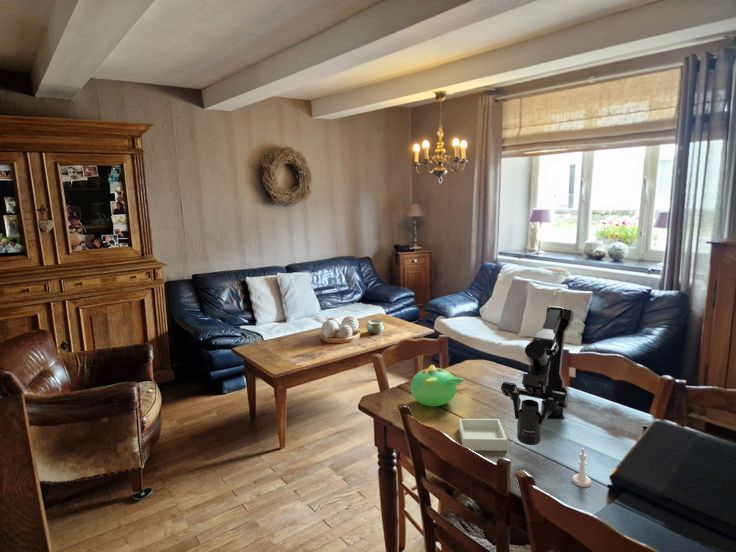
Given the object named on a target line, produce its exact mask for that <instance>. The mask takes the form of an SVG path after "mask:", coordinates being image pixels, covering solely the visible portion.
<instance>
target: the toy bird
mask: <svg viewBox="0 0 736 552" xmlns="http://www.w3.org/2000/svg"><path fill="white" fill-rule="evenodd" d="M463 382H465V379H464V378H461V377H455V376H454V375H453V374H452V373H451V372H450V371H448V370H446V369H444V368H440V367H436V366H435V365H434V364H431V365H429V366H428V367H427V368H424V369H422V370H420V371H418V372H417V373H416V374H415V375H414V376H413V377H412V380H411V381H410V391H411V394H412V397H413V398H414V399H415V400H416V401H417V402H418V403H420V404H421V405H424V406H427V407H441V406H444V405H446V404H448V403H450V402H451V401H452V400H453V398H455V395H456V394H457V390H458V385H460V384H462V383H463Z"/></svg>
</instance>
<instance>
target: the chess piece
mask: <svg viewBox="0 0 736 552" xmlns="http://www.w3.org/2000/svg"><path fill="white" fill-rule="evenodd" d="M580 451H581V452H580V453H579V454H578V456H579V460H578V464H579V465H580V466H579V470H578V473H576V474H573V475H572V477H571V481H572V482H573V483H574V484H575V485H577V486H578V487H579V486H580V487H583V488H585V487H586V488H587V487H590V486H591V485H592V479H591V478H590V477H589V476H587V475H586V471H585V466H587V462H586V459H587V457H588V455H587V454H586V450H585V448H584V447H581V448H580Z"/></svg>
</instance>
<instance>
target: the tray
mask: <svg viewBox="0 0 736 552" xmlns="http://www.w3.org/2000/svg"><path fill="white" fill-rule="evenodd" d="M502 425H503V424H502V423H501V421H500V418H458V431H459V436H460V440H461V441H460V442H461V445H463V446H466V447H468V448H470V449H472V450H471V451H491V452H492V451H493V452H494V451H499V452H501V451H503V452H504V451H505V452H506V451H508V438H507V434H506V432H505V430H504V428H503V426H502ZM463 446H462V447H463Z"/></svg>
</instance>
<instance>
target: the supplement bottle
mask: <svg viewBox="0 0 736 552" xmlns="http://www.w3.org/2000/svg"><path fill="white" fill-rule="evenodd" d="M539 405H540V403H539V402H538V401H536V400H534V399H524V400H521V404H520V406H521V407H520V408H519V411H518V418H517V419H516V421H517V424H516V425H517V426H516V439H517V441H518V442H520V443H521V444H523V445H525V446H536V445H539V444H540V443H541V440H542V439H541V438H542V425H540V420H541V416H542V412H541V411H539V410H540V407H539Z"/></svg>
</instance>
